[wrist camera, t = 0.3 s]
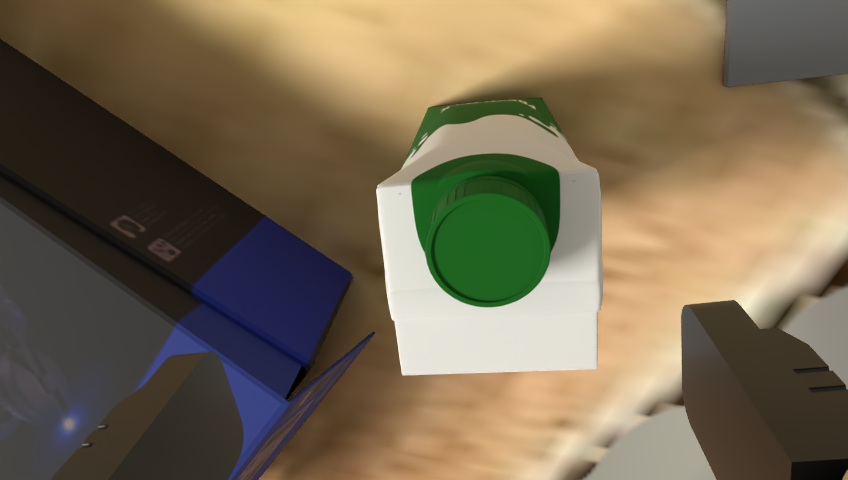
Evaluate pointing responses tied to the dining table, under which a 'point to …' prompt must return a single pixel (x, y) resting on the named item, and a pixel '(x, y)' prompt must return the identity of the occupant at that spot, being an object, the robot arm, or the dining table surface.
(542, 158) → the milk carton
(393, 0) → the dining table surface
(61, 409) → the headphone box
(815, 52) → the felt mat
